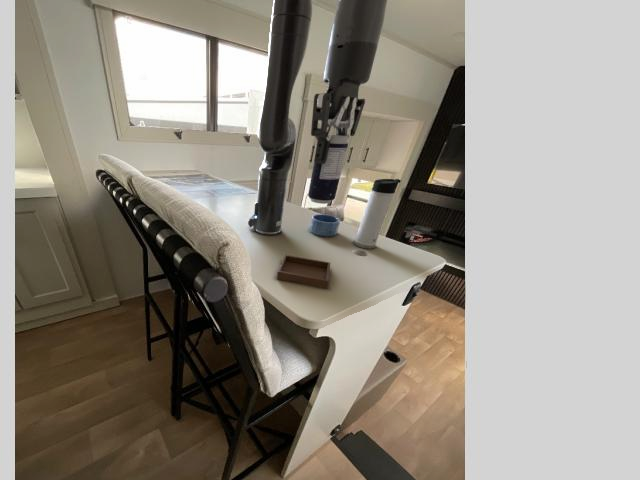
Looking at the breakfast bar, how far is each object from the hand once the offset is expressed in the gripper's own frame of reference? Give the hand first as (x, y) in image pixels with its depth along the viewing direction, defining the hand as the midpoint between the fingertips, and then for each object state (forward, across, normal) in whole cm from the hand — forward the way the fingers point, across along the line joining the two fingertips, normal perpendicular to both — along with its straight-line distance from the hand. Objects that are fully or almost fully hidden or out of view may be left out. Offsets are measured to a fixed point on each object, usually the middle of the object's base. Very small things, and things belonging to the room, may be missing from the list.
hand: (328, 162), depth 50 cm
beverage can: (+8, 0, 0) cm, 8 cm away
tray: (+26, 0, 0) cm, 26 cm away
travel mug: (+26, -32, +2) cm, 41 cm away
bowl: (+26, -30, -14) cm, 42 cm away
